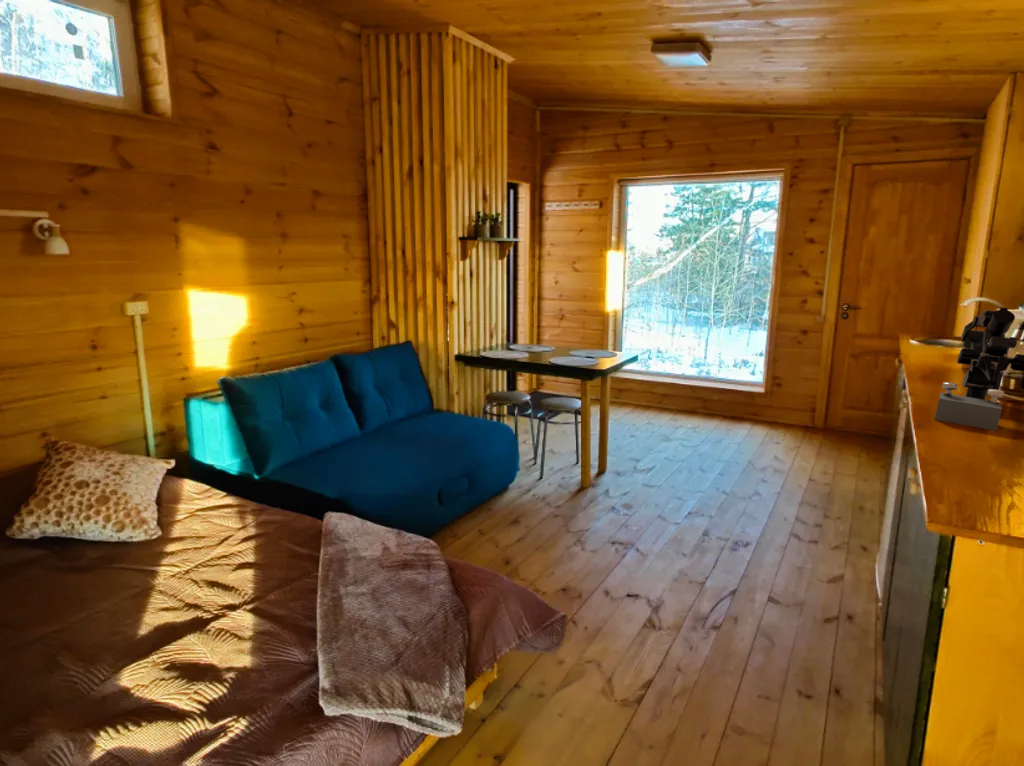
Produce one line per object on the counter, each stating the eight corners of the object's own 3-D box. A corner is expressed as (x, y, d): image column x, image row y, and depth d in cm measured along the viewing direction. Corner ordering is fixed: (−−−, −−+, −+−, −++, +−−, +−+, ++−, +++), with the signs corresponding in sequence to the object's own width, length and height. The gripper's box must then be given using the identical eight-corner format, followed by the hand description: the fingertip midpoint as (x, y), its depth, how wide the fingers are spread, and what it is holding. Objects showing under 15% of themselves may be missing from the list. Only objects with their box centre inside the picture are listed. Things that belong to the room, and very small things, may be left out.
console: (936, 413, 212) (940, 392, 211) (995, 423, 204) (1000, 402, 202) (934, 419, 204) (939, 398, 203) (996, 430, 196) (1001, 408, 194)
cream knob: (985, 400, 204) (988, 388, 203) (1000, 403, 202) (1003, 390, 201) (985, 403, 201) (988, 390, 200) (1001, 405, 198) (1004, 393, 197)
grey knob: (940, 393, 210) (943, 381, 209) (955, 395, 208) (957, 383, 207) (940, 395, 207) (942, 383, 206) (954, 398, 205) (957, 385, 204)
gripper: (967, 323, 211) (964, 362, 204) (1037, 330, 203) (1037, 370, 196) (958, 343, 220) (955, 381, 213) (1025, 351, 212) (1024, 390, 205)
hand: (992, 380), depth 207 cm, fingers closed
